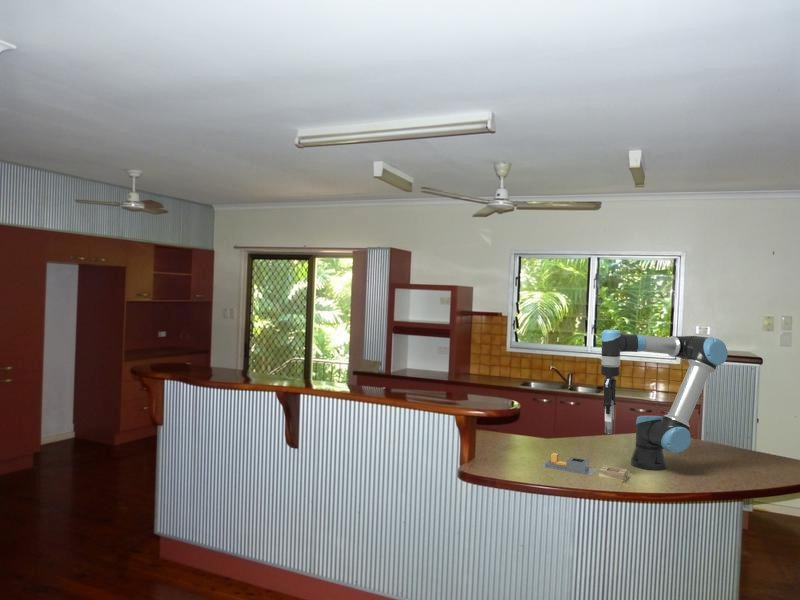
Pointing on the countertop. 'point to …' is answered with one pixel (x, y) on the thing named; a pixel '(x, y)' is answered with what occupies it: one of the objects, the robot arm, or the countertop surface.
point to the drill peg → (609, 424)
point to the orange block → (556, 460)
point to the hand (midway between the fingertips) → (609, 420)
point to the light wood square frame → (613, 473)
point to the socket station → (572, 466)
